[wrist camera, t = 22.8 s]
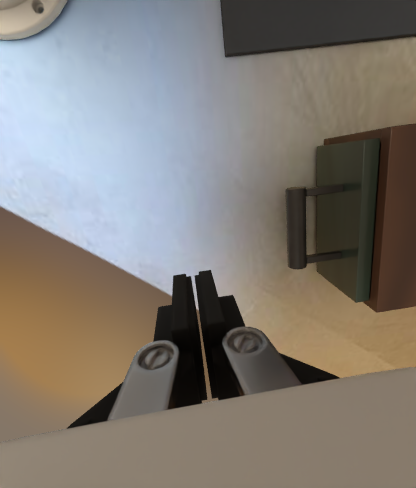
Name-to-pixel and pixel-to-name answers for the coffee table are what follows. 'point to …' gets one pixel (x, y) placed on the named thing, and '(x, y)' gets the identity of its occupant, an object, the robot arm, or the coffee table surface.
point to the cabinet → (393, 218)
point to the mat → (312, 23)
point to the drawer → (339, 216)
